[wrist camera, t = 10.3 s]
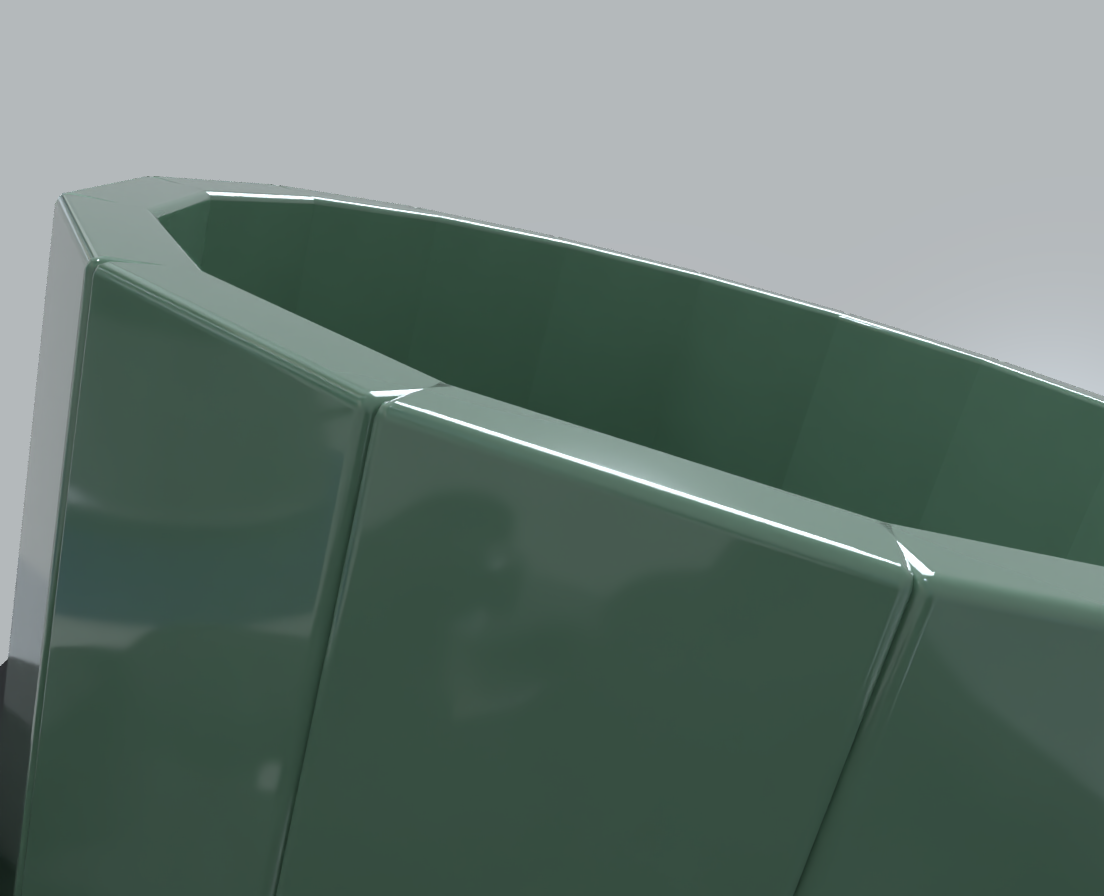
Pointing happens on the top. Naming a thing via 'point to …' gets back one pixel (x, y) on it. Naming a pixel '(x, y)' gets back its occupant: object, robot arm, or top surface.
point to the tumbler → (531, 575)
